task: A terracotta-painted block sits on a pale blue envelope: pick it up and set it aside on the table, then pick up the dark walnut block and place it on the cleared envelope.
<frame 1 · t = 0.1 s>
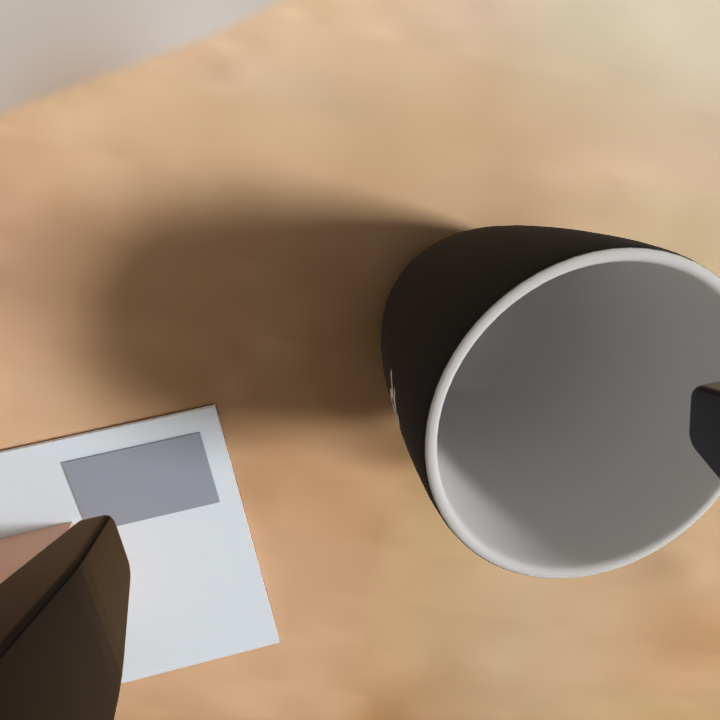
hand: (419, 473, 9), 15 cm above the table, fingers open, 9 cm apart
mug: (483, 343, 25), on the table
envelope: (30, 584, 25), on the table
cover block: (28, 587, 25), resting on envelope
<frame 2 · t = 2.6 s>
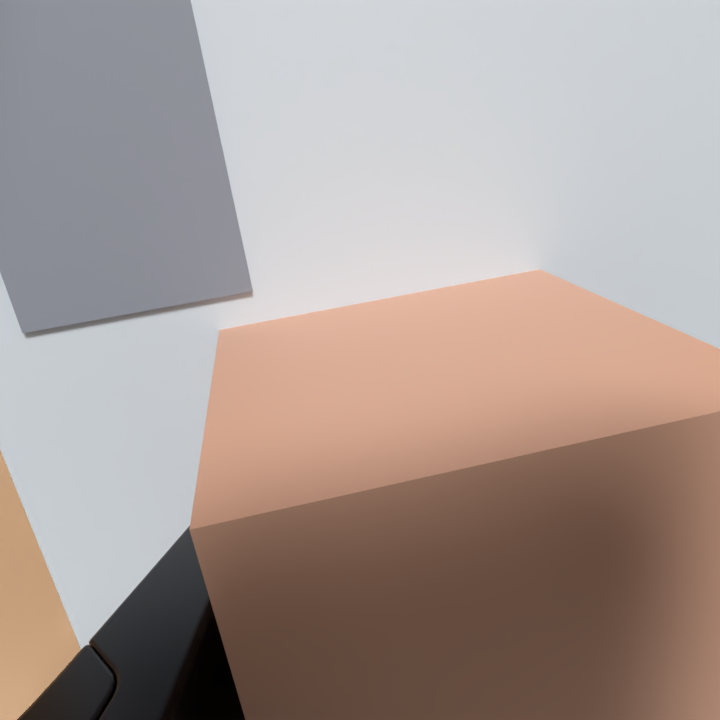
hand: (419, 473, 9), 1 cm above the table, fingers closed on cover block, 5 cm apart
envelope: (400, 437, 10), on the table
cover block: (403, 443, 10), resting on envelope, touching gripper
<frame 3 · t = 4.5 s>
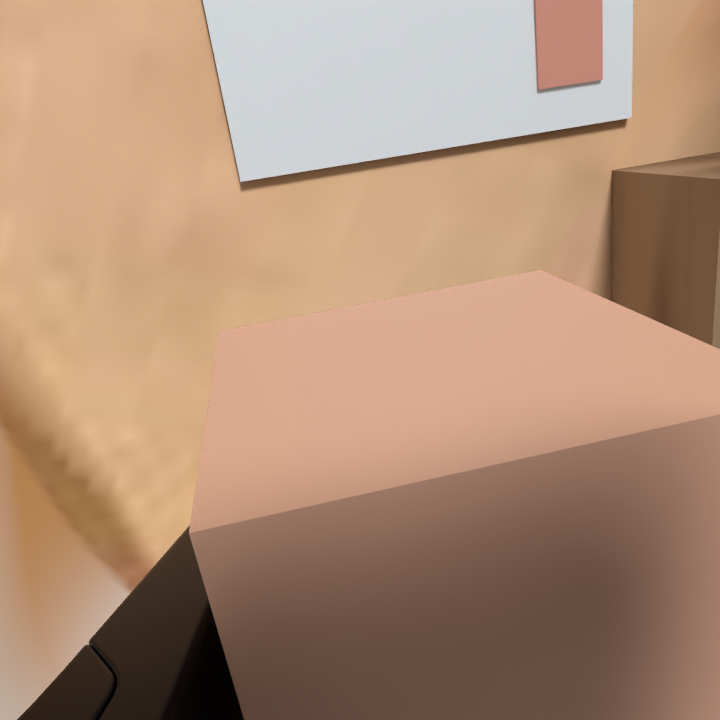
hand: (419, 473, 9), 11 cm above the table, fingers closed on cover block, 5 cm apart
walnut block: (679, 235, 21), on the table
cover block: (404, 444, 10), point 10 cm above the table, touching gripper
when the fingers open (2 cm above the table, at t = 6.4 s): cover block drops 1 cm, on the table.
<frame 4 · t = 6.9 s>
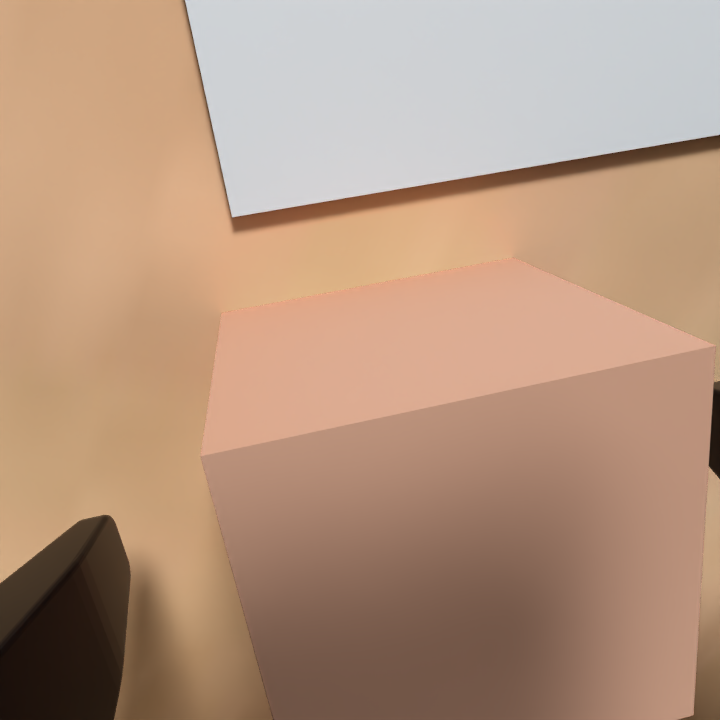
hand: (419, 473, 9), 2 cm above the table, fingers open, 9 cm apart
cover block: (389, 415, 11), on the table
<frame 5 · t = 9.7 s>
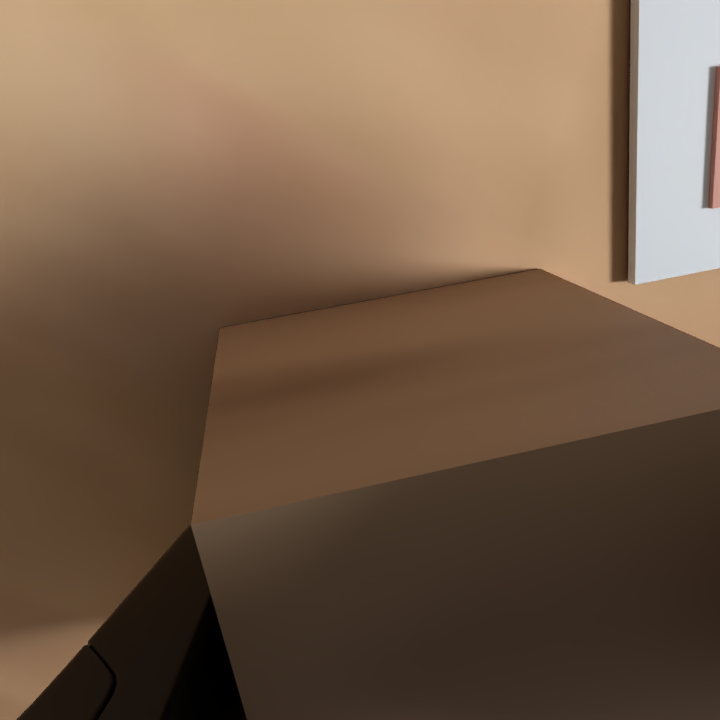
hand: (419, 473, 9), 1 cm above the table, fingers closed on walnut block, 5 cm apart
walnut block: (403, 441, 10), on the table, touching gripper
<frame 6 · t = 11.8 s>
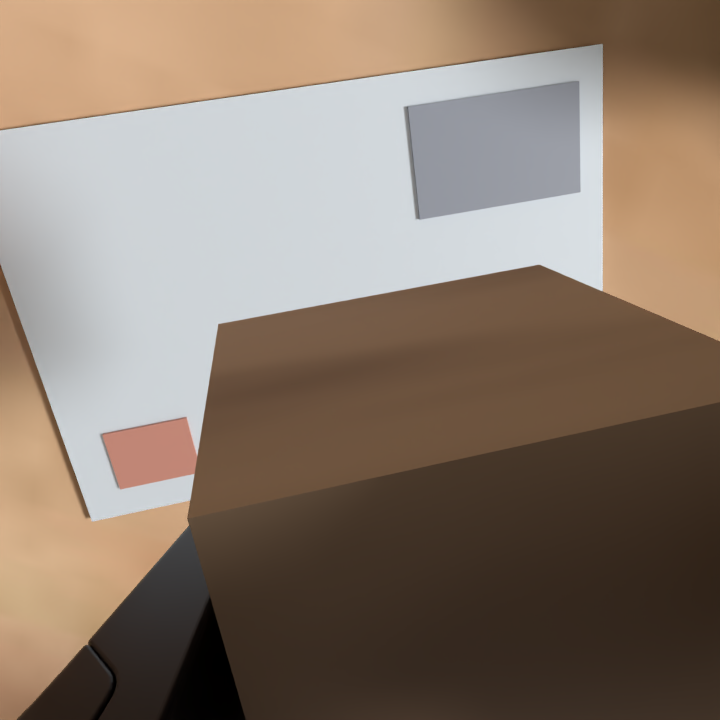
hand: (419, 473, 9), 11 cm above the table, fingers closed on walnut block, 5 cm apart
walnut block: (402, 438, 10), point 10 cm above the table, touching gripper
envelope: (331, 295, 19), on the table
when the fingers open (2 cm above the table, at t = 13.8 s): walnut block stays where it is, resting on envelope.
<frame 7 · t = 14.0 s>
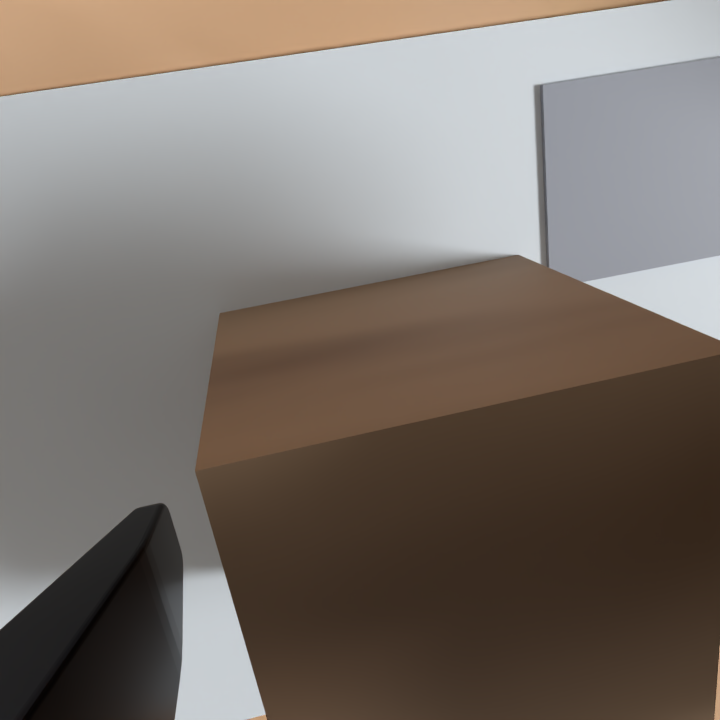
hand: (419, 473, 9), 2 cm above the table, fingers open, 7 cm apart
walnut block: (393, 419, 11), resting on envelope
envelope: (389, 416, 11), on the table
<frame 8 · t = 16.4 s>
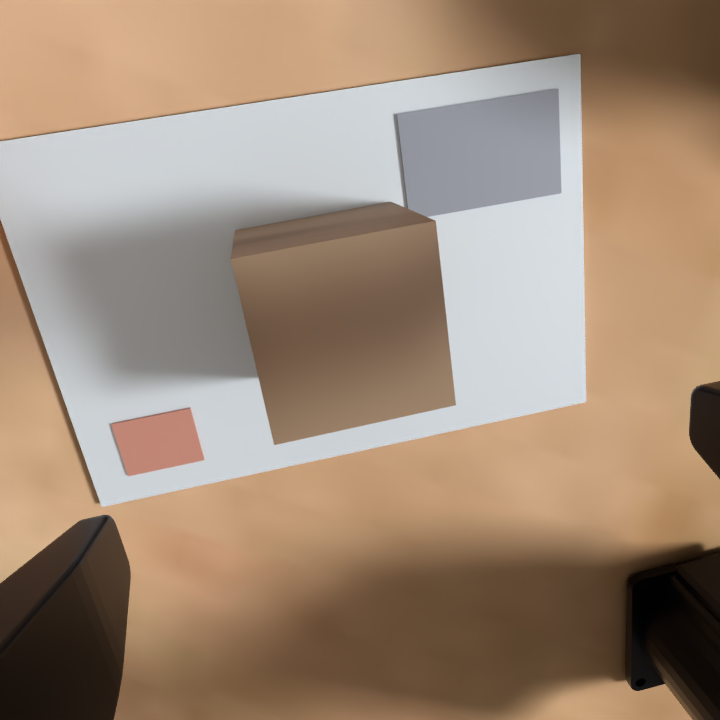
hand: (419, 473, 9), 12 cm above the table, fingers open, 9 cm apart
walnut block: (327, 292, 20), resting on envelope
envelope: (326, 292, 20), on the table
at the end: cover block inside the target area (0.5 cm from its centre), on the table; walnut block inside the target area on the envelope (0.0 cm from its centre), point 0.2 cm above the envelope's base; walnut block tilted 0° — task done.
